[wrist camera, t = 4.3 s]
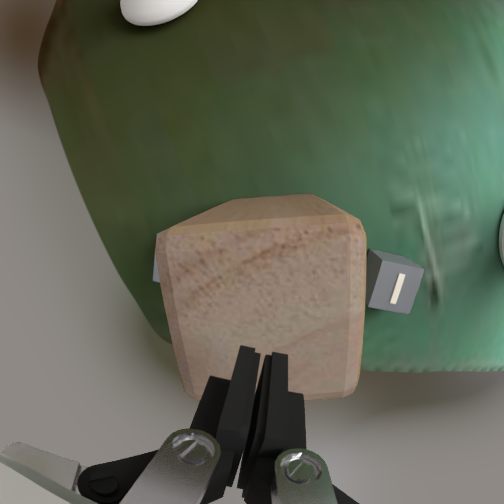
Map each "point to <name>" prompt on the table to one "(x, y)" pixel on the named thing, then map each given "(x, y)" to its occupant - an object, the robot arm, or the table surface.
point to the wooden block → (267, 291)
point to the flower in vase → (154, 10)
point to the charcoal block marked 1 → (391, 281)
